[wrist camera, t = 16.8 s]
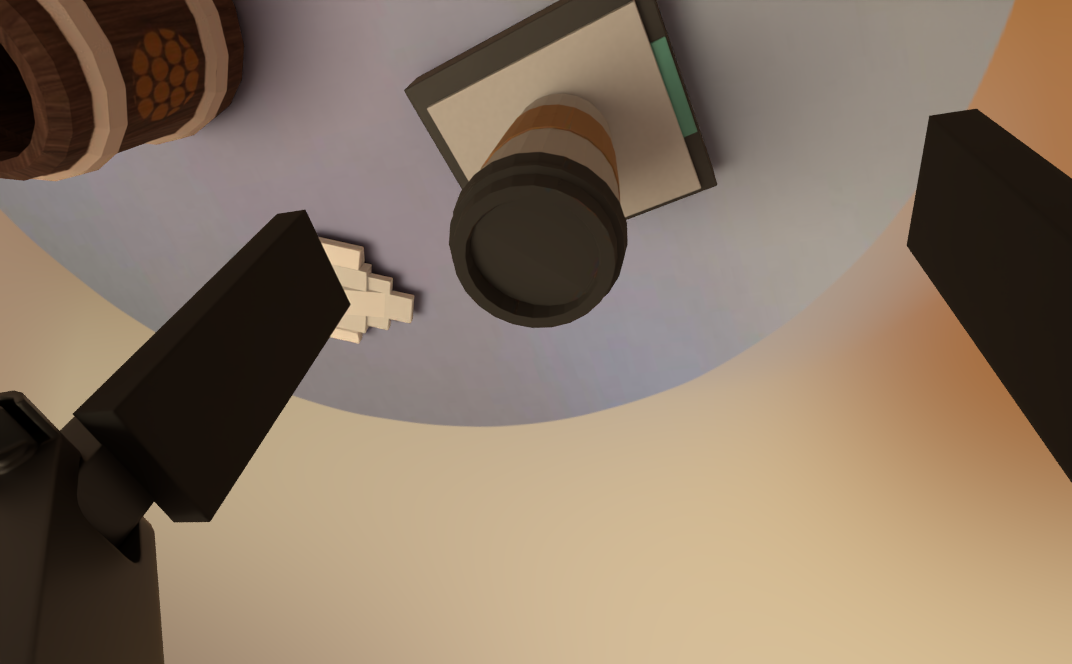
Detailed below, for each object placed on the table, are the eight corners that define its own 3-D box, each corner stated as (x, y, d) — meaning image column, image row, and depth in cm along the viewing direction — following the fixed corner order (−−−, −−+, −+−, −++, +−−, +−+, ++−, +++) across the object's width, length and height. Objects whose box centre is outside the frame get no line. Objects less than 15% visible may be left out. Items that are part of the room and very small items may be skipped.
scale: (641, -44, 35) (642, -37, 32) (712, 167, 42) (718, 189, 39) (416, 77, 41) (400, 93, 38) (512, 246, 48) (505, 269, 45)
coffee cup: (580, 224, 42) (561, 363, 30) (475, 160, 40) (411, 281, 28) (655, 122, 37) (667, 241, 25) (540, 44, 35) (494, 132, 23)
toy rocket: (419, 254, 49) (411, 269, 47) (412, 344, 55) (405, 360, 53) (227, 210, 49) (212, 223, 47) (241, 305, 55) (228, 320, 53)
